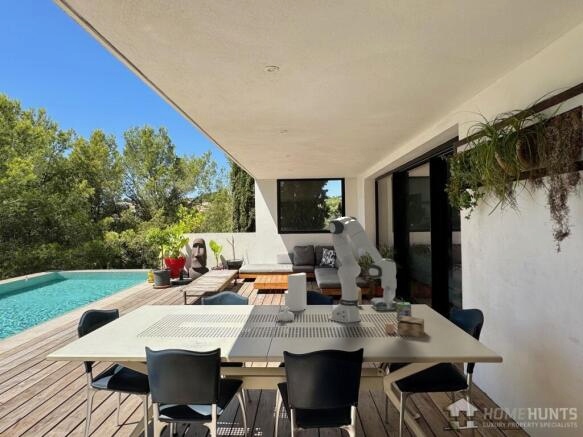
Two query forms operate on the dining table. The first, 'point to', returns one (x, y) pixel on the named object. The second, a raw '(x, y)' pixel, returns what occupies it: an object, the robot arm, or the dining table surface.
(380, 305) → the towel
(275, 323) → the dining table surface
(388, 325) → the cube
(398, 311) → the chalk box
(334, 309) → the robot arm
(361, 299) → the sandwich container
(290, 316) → the bust
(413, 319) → the lid
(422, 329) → the crate
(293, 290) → the cylinder
